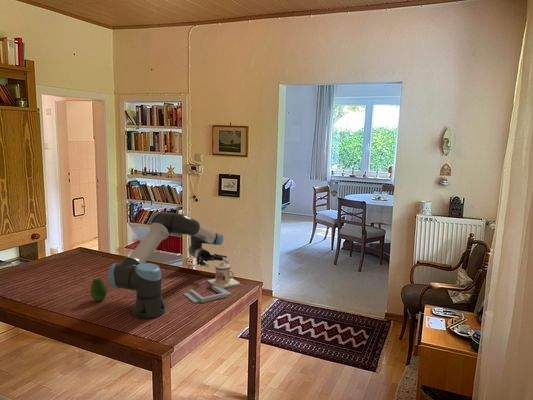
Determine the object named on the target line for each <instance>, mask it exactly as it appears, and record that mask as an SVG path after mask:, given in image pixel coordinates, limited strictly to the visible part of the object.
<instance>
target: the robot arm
mask: <svg viewBox="0 0 533 400" xmlns="http://www.w3.org/2000/svg"><path fill="white" fill-rule="evenodd" d="M150 217H151V218H150V221H149V231H148V232H147V233H146V235H145V236H144V237H143V238H142V239H141V241H140V242H139V243H138V245H137V246H136V247H135V249H134V250H133V251H132V252H131V254H130V255H129V256H126V257H124V258H123V259H122V260H121V261H120V263H118V262H114V263H113V264H112V265H110V267H109V269H108V272H107V279H108V283H109V284H110V286H112V287H113V288H117V289H123V290H130V291H135V292H136V299H135V302H134V305H133V308H132V315H133V316H134V317H135V318H137V319H144V320H145V319H148V320H150V319H155V318H158V317H160V316H163V315H164V314H165V312H166V305H165V302H164V298H163V296H162V270H161V267H160V266H159V265H157V264H156V263H151V262H148V260H149V259H150V258H151V256H152V255H153V254H154V252H155V250H156V249H157V248H158V247H159V245H160V244H161V242H162V241H163V240H166V239H168V238H169V236H170V235H171V234H172V235H173V234H175V235H187V236H190V246H189V247H188V250H187V251H188V254H189V255H190V256H192V257H194V258H195V259H196V265H197V266H200V267H205V268H207V269H209V266H210V265H209V263H208V262H209V261H218V262H219V261H221V262H225V263H226V264H229V263H230V262H229V259H228V258H227V257H228V256H227V255H223V254H217V253H214V254H211V253H210V251H208V250H206V249H205V248H203V244H205V245H214V246H215V245H216V246H221V245H223V242H224V235H223V233H219V232H214V231H213V230H210V229H209V228H207V227H205V226H204V225H201V224H200V223H199V221H198V220H196V219H195V218H192V217H191V216H188V215H187V214H183V213H175V212H166V211H160V212H159V211H157V212H156V213H154V214H153V215H151V216H150ZM147 262H148V263H147ZM229 265H230V264H229Z"/></svg>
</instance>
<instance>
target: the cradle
mask: <svg viewBox="0 0 533 400" xmlns="http://www.w3.org/2000/svg"><path fill="white" fill-rule="evenodd" d="M211 289H212V290H213V291H214V292H216V293H217V294H213V295H212V294H211V295H207V296H202V295H201V294H199V293H198V292H196V291H195V290H194V289H189V292H185V293H183V295H184V297H186V298H188V299H189V300H190V301H191V302H192V303H194V304H196V303H197V304H198V303H206V302H209V301H214V300H218V299H223V298H228V296H231V295H232V293H231V292H230V291H228V290H227V289H226V288H218V287H217V286H215V285H212V284H211Z"/></svg>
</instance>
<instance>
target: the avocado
mask: <svg viewBox="0 0 533 400" xmlns="http://www.w3.org/2000/svg"><path fill="white" fill-rule="evenodd" d="M107 294H108V290H107V285H106V284H105V282H104V280H103V279H102V278H100V277H95V278H94V279H93V280H92V283H91V287H90V295H91V298H92V299H93V301H94V300H95V301H97V302H98V301H103V300H104V299H105V298H106V297H107V296H108V295H107Z"/></svg>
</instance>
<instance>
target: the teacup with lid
mask: <svg viewBox="0 0 533 400" xmlns="http://www.w3.org/2000/svg"><path fill="white" fill-rule="evenodd" d="M214 269H215V279H216V282H218V283H227V282H229V281H230V279H231V278H233V277H234V276H235V273H234V271H233V270H231V265H230V264H226V263H225V262H223V261H221V262H220V263H218V264H215V266H214ZM233 279H234V278H233Z"/></svg>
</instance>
